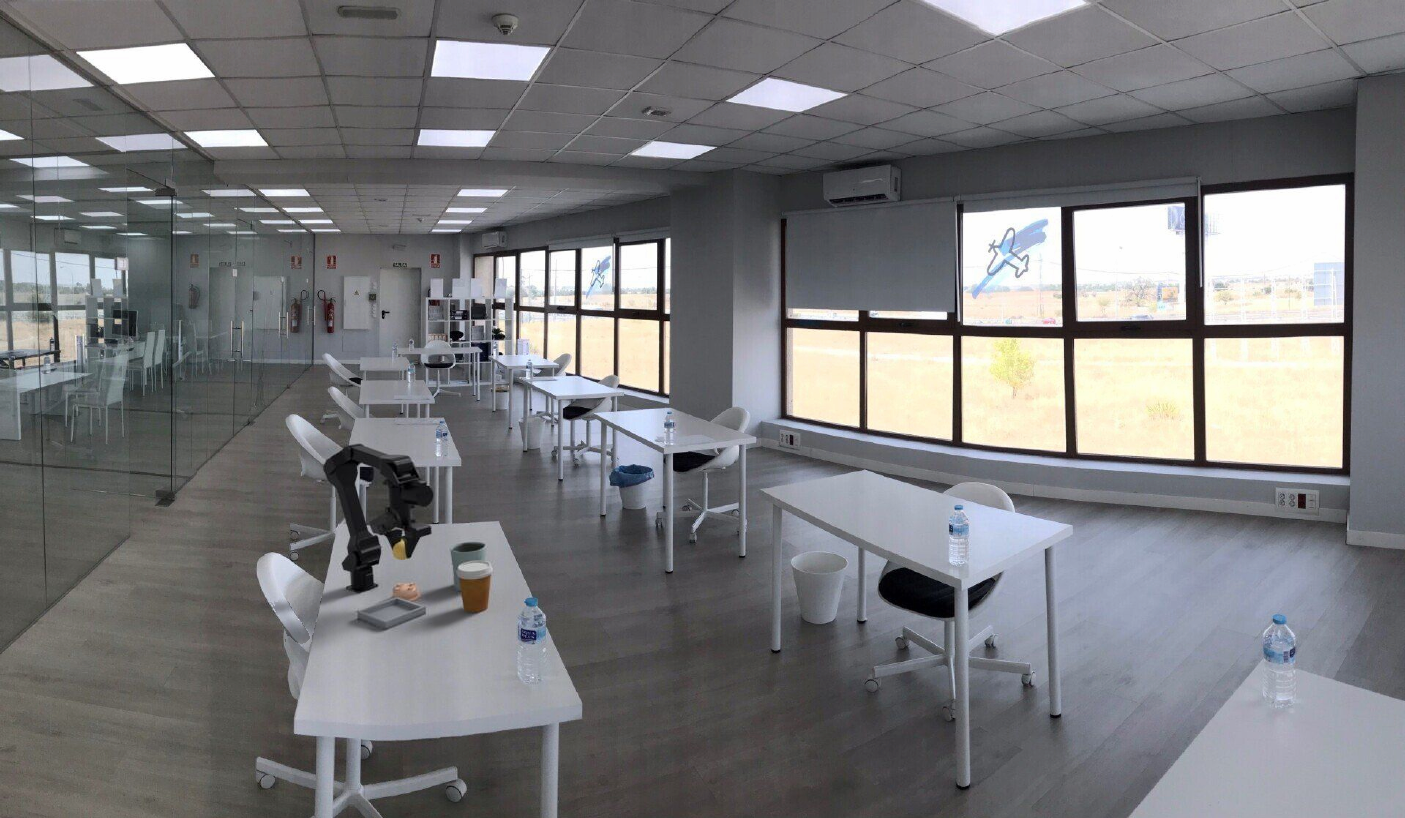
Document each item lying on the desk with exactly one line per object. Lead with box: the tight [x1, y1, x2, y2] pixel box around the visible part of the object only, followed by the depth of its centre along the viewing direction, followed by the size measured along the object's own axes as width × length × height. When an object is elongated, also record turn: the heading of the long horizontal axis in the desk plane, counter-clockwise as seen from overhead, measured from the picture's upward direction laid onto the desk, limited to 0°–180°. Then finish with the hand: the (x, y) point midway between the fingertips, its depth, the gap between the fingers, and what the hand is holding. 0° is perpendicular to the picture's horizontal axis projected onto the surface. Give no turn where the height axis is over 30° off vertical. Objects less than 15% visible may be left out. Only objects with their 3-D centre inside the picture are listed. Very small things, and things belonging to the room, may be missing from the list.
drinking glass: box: [449, 541, 487, 592], centre depth 218 cm, size 10×10×12 cm
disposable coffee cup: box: [456, 560, 494, 614], centre depth 202 cm, size 10×10×12 cm
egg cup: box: [390, 582, 421, 602], centre depth 209 cm, size 8×8×4 cm
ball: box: [392, 541, 407, 561], centre depth 206 cm, size 5×5×5 cm
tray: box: [356, 597, 427, 631], centre depth 197 cm, size 12×12×2 cm
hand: (402, 556), depth 206 cm, fingers closed on ball, 5 cm apart
